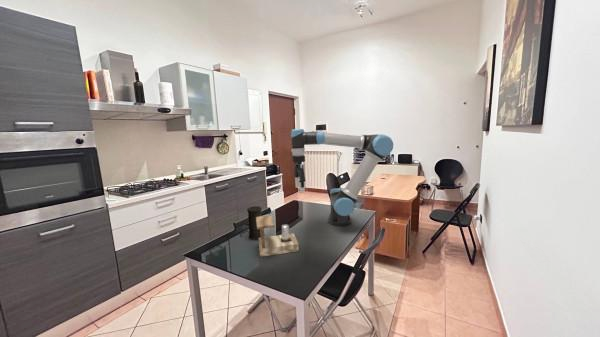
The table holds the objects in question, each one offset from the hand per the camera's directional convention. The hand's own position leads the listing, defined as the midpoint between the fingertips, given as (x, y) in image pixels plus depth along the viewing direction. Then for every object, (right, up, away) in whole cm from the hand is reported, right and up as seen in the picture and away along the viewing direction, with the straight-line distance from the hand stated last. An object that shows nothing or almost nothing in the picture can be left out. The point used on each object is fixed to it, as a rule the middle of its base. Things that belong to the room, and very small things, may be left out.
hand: (300, 190), depth 149 cm
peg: (-8, -30, -15) cm, 34 cm away
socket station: (-12, -30, -16) cm, 36 cm away
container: (-26, -29, 0) cm, 39 cm away
